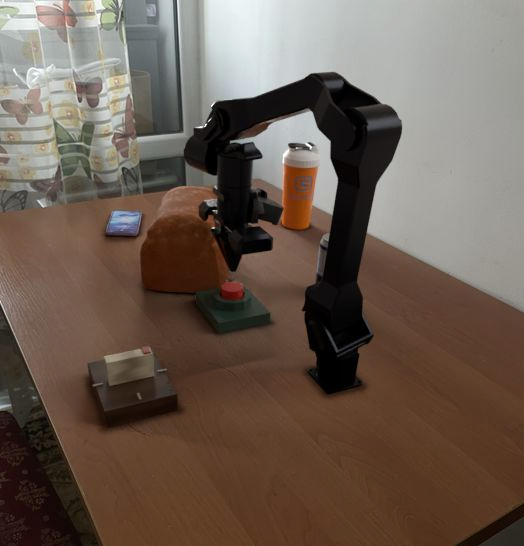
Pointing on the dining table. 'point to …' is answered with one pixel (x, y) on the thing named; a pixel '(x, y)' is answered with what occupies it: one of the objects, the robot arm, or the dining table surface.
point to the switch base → (132, 395)
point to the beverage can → (322, 257)
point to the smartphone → (124, 223)
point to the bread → (182, 245)
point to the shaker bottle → (299, 184)
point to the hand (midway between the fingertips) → (232, 270)
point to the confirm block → (232, 310)
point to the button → (232, 290)
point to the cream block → (129, 366)
